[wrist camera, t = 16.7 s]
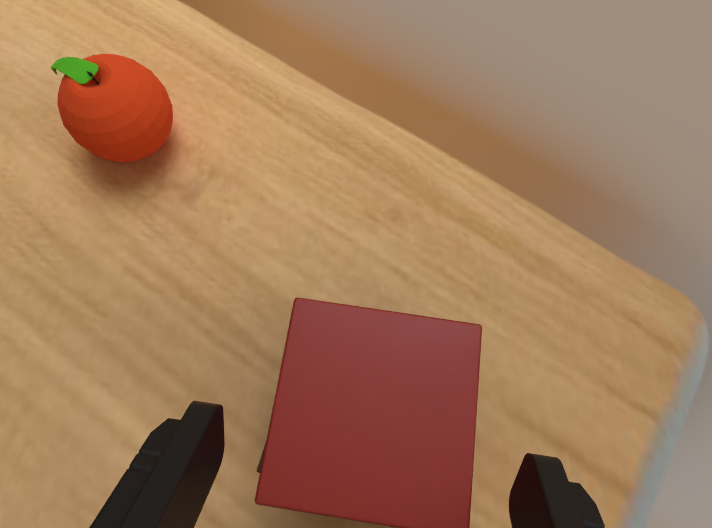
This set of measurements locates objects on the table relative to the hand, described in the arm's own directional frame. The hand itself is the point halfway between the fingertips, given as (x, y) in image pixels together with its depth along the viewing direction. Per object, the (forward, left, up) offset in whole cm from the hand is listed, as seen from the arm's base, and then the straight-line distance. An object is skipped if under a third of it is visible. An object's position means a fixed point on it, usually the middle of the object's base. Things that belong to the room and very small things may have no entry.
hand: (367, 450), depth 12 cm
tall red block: (0, +1, -9) cm, 9 cm away
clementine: (-26, +8, -17) cm, 32 cm away
